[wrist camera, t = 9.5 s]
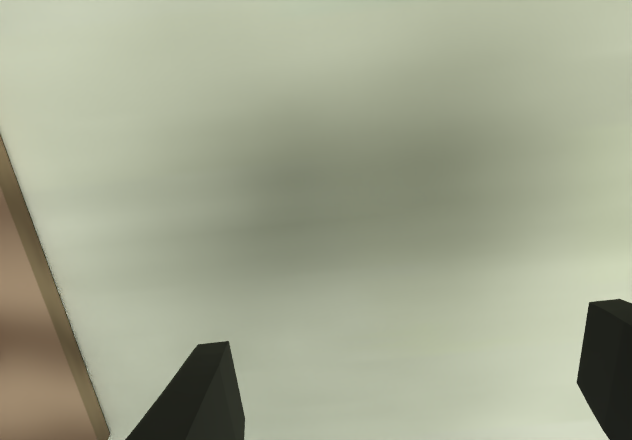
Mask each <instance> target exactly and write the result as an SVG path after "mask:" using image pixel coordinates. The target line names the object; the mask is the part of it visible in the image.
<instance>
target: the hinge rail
mask: <svg viewBox="0 0 632 440" xmlns="http://www.w3.org/2000/svg"><path fill="white" fill-rule="evenodd" d="M109 435H110V433H109V430H108V428H107V425H106V422H105V419H104V417H103V414H102V411H101V409H100V406H99V403H98V400H97V398H96V395H95V392H94V389H93V387H92V384H91V381H90V379H89V376H88V373H87V370H86V368H85V365H84V362H83V360H82V357H81V354H80V351H79V349H78V346H77V343H76V340H75V338H74V335H73V332H72V330H71V327H70V324H69V321H68V319H67V316H66V313H65V310H64V308H63V305H62V302H61V300H60V297H59V294H58V291H57V289H56V286H55V283H54V281H53V278H52V275H51V272H50V270H49V267H48V264H47V261H46V259H45V256H44V253H43V251H42V248H41V245H40V242H39V240H38V237H37V234H36V232H35V229H34V226H33V223H32V221H31V218H30V215H29V212H28V210H27V207H26V204H25V202H24V199H23V196H22V193H21V191H20V188H19V185H18V183H17V180H16V177H15V174H14V172H13V169H12V166H11V163H10V161H9V158H8V155H7V153H6V150H5V147H4V144H3V142H2V139H1V136H0V440H108V438H109Z"/></svg>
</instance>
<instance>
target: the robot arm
mask: <svg viewBox="0 0 632 440" xmlns="http://www.w3.org/2000/svg"><path fill="white" fill-rule="evenodd" d="M577 384H578V386H579V388H580V390H581V391H582V393H583V395H584V397H585V399H586V401H587V403H588V405H589V407H590V408H591V410H592V412H593V414H594V415H595V417H596V419H597V421H598V422H599V424H600V426H601V427H602V429H603V431H604V432H605V434H606V435H607V437H608V438H609V439H610V440H632V303H629V302H626V301H624V300H621V299H615V300H606V301H596V302H589V307H588V313H587V320H586V326H585V333H584V339H583V345H582V352H581V358H580V365H579V371H578V377H577ZM244 429H245V416H244V412H243V407H242V402H241V397H240V393H239V388H238V383H237V378H236V373H235V369H234V364H233V359H232V354H231V350H230V345H229V341H226V342H217V343H207V344H198V345H197V347H196V348H195V349H194V350H193V352H192V353H191V354H190V356H189V357H188V358H187V360H186V361H185V362H184V364H183V365H182V367H181V368H180V369H179V371H178V372H177V373H176V375H175V376H174V378H173V379H172V380H171V382H170V383H169V384H168V386H167V387H166V388H165V390H164V391H163V392H162V394H161V395H160V396H159V398H158V399H157V400H156V402H155V403H154V404H153V405H152V407H151V408H150V409H149V411H148V412H147V413H146V414H145V416H144V417H143V418H142V419H141V421H140V422H139V423H138V425H137V426H136V427H135V428H134V430H133V431H132V432H131V433H130V435H129V436H128V437H127V438H126V439H125V440H244Z"/></svg>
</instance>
